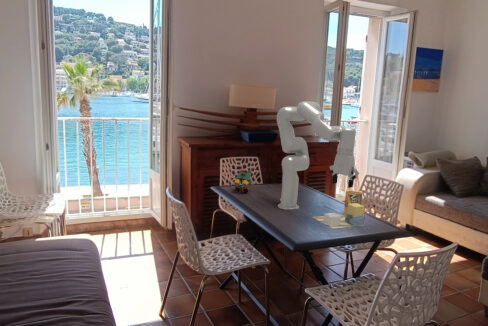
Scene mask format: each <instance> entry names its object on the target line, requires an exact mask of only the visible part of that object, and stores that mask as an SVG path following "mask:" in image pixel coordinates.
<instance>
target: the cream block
mask: <svg viewBox="0 0 488 326" xmlns="http://www.w3.org/2000/svg"><path fill="white" fill-rule="evenodd" d="M339 215H340V214H337V213H334V212H329V213H323V216H324V222H323V223H322V224H324V223H325V224H327V225H328V226H327V225H326V226H327V227H329V226H340V219H341V216H339ZM325 224H324V225H325Z"/></svg>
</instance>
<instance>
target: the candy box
mask: <svg viewBox="0 0 488 326" xmlns="http://www.w3.org/2000/svg"><path fill="white" fill-rule="evenodd" d="M344 198H345V199H344V208H343V215H344V216H345V213H347V206H348V204H352V203H358V204H360V205H362V200H363V199H362V198H363V191H360V190H352V189H346V191H345V197H344Z"/></svg>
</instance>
